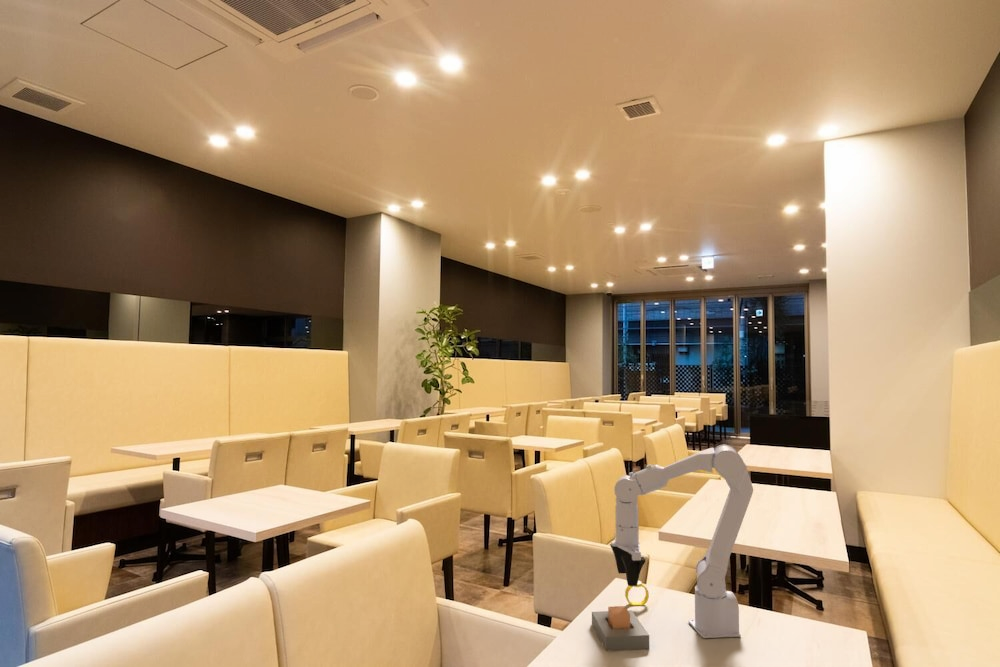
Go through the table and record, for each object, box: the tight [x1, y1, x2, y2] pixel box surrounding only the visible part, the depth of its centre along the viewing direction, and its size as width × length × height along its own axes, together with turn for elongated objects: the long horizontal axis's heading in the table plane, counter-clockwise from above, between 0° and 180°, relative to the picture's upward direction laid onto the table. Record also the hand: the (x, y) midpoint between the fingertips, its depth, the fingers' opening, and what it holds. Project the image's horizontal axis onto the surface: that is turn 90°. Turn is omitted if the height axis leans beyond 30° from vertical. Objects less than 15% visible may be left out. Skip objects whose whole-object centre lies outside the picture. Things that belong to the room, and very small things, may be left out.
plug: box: [607, 605, 630, 629], centre depth 127 cm, size 4×4×6 cm
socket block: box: [591, 609, 650, 652], centre depth 127 cm, size 10×12×3 cm
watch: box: [624, 580, 650, 607], centre depth 144 cm, size 6×3×6 cm, turn 94°
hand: (627, 578), depth 137 cm, fingers open, 7 cm apart
